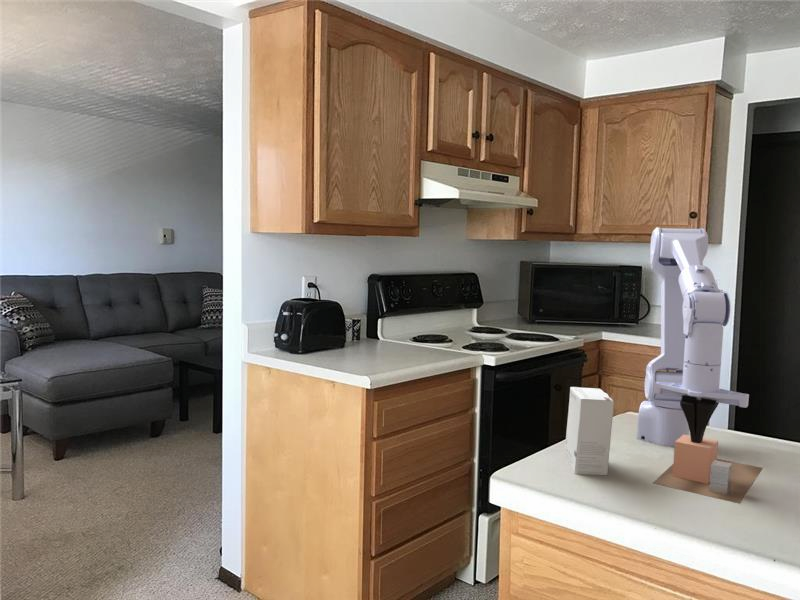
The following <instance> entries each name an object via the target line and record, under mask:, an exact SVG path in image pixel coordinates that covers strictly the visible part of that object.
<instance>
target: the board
mask: <svg viewBox="0 0 800 600" xmlns="http://www.w3.org/2000/svg"><path fill="white" fill-rule="evenodd" d="M717 461H722V462H727V463H732V474H731V487H730V492H729V493H728V495H722V494H718V493H714V492H709V486H710V482H709V483H708V484H706V483H702V482H697V481H693V480H688V479H684V478H679V477H675V476H673V463H672V464H671V465H670V466H669V467H668V468H667V469H666V470H665V471H664V472H663V473H661V474H660V475H659V476H657V478H656V479H654V481H653V482H652V484H655V485H657V486H658V485H659V486H663V487H667V488H671V489H675V490H679V491H683V492H688V493H693V494H697V495H701V496H706V497H709V498H714V499H719V500H723V501H726V502H731V503H734V504H740V503H741V502H742V500H743V499H744V497H745V496H746V494H747V493H748V491H749V490H750V488H751V486H752V485H753V484H754V482H755V481H756V479H757V477H758V476H759V474H760V473H761V471H762V469H763V467H761V466H755V465H751V464H750V465H749V464H745V463H741V462H740V463H739V462H735V461H730V460H726V459H719V458H717Z"/></svg>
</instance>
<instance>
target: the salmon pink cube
mask: <svg viewBox="0 0 800 600" xmlns="http://www.w3.org/2000/svg"><path fill="white" fill-rule="evenodd" d="M718 447H719V440H715V439H710V438H705V437H703V440H702V442H701V443H695V442H691V436H690V434H689V435H685V434H684V435H682V436H681V437H680V438H679V439H677V440H676V441H675V447H674V450H673V462H672V464H673V476H675V477H679V478H684V479H688V480H693V481H697V482H702V483H706V484H708V483H709V482H710V472H711V464H712V462H713V461H714V460H717V459H718V449H719V448H718Z"/></svg>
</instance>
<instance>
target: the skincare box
mask: <svg viewBox="0 0 800 600" xmlns="http://www.w3.org/2000/svg"><path fill="white" fill-rule="evenodd" d="M614 405H615V401H614V399H612V398H611V397H610V396H609V394H608V393H606V392H604V390H602V389H601V388H597V387H596V388H595V387H594V388H593V387H579V386H570V387H569V402H568V412H567V422H566V423H567V424H566V432H565V434H566V435H565V446H564V447H565V448H564V456H563V458H564V459H563V462H564V463H565V462H566V463H567V464H568V466H569V467H570V468H571V470H572V472H573V473H574V474H575V475H597V476H599V475H603V476H608V472H609V460H610V450H611V439H612V430H613V429H612V427H613V417H614V407H615V406H614Z"/></svg>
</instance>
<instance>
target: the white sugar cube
mask: <svg viewBox="0 0 800 600" xmlns="http://www.w3.org/2000/svg"><path fill="white" fill-rule="evenodd" d="M731 474H732V463H727V462H722V461H717V460H714V461H713V462H712V464H711V472H710V486H709V492H714V493H718V494H722V495H728V493H729V492H730V487H731Z"/></svg>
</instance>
